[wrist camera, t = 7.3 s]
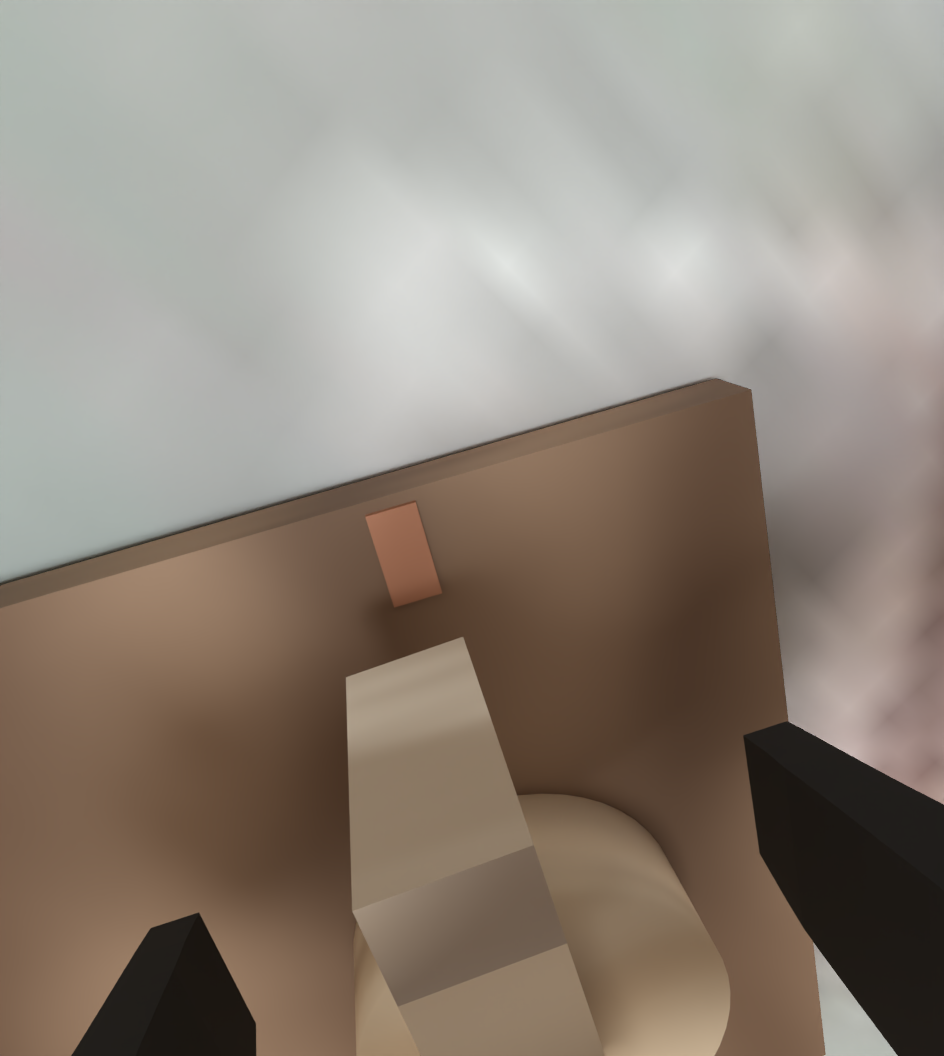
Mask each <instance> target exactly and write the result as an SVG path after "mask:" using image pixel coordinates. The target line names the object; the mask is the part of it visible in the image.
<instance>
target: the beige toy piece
mask: <svg viewBox="0 0 944 1056" xmlns="http://www.w3.org/2000/svg"><path fill="white" fill-rule="evenodd" d="M346 701H347V739H348V776H349V813H350V851H351V888H352V912H353V914H354V916H355V918H356V920H357V922H356V928H355V934H354V984H355V1021H356V1056H715V1054H716V1052H717V1050H718V1048H719V1046H720V1044H721V1041H722V1038H723V1035H724V1033H725V1030H726V1027H727V1022H728V1017H729V1012H730V993H731V992H730V985H729V978H728V974H727V971H726V968H725V965H724V962H723V959H722V957H721V955H720V953H719V952H718V950H717V948H716V946H715V944H714V943H713V941H712V939H711V937H710V935H709V934H708V932H707V930H706V928H705V926H704V925H703V923H702V921H701V919H700V917H699V915H698V914H697V912H696V910H695V908H694V906H693V905H692V903H691V901H690V899H689V897H688V896H687V894H686V892H685V890H684V888H683V887H682V885H681V883H680V881H679V879H678V877H677V876H676V874H675V872H674V870H673V868H672V867H671V865H670V863H669V861H668V859H667V858H666V856H665V854H664V852H663V850H662V849H661V847H660V845H659V844H658V843H657V841H656V840H655V839H654V838H653V836H652V835H651V834H650V833H649V832H648V831H647V830H646V829H645V828H644V827H643V826H642V825H640V824H639V823H638V822H637V821H636V820H634V819H633V818H631V817H630V816H628V815H626V814H625V813H623V812H622V811H620V810H618V809H615V808H613V807H611V806H608V805H606V804H604V803H601V802H598V801H594V800H591V799H587V798H583V797H577V796H570V795H564V794H530V795H518V796H517V794H516V791H515V788H514V785H513V782H512V779H511V776H510V773H509V770H508V767H507V764H506V762H505V759H504V756H503V753H502V750H501V747H500V744H499V741H498V738H497V735H496V732H495V729H494V726H493V723H492V720H491V717H490V714H489V711H488V708H487V706H486V703H485V700H484V697H483V694H482V691H481V688H480V685H479V682H478V679H477V676H476V673H475V670H474V667H473V664H472V661H471V658H470V655H469V652H468V650H467V647H466V644H465V641H464V638H463V637H461V638H458V639H455V640H452V641H449V642H446V643H443V644H440V645H438V646H435V647H432V648H429V649H426V650H423V651H420V652H417V653H415V654H412V655H409V656H406V657H403V658H400V659H397V660H394V661H392V662H389V663H386V664H383V665H380V666H377V667H374V668H371V669H369V670H366V671H363V672H360V673H357V674H354V675H351V676H348V677H346Z"/></svg>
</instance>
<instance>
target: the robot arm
mask: <svg viewBox="0 0 944 1056" xmlns="http://www.w3.org/2000/svg"><path fill="white" fill-rule="evenodd" d="M743 738H744V745H745V752H746V759H747V767H748V774H749V781H750V788H751V795H752V802H753V810H754V817H755V824H756V831H757V838H758V845H759V853H760V855H761V857H762V859H763V860H764V862H765V864H766V866H767V867H768V869H769V871H770V872H771V874H772V876H773V878H774V879H775V881H776V883H777V885H778V886H779V888H780V890H781V892H782V893H783V895H784V897H785V898H786V900H787V902H788V903H789V905H790V907H791V908H792V910H793V912H794V913H795V915H796V917H797V918H798V920H799V922H800V923H801V925H802V927H803V928H804V930H805V931H806V932H807V934H808V935H809V936H810V938H811V939H812V941H813V942H814V943H815V945H816V946H817V948H818V949H819V950H820V952H821V953H822V954H823V956H824V957H825V958H826V960H827V961H828V962H829V964H830V965H831V967H832V968H833V969H834V971H835V972H836V973H837V975H838V976H839V977H840V979H841V980H842V981H843V983H844V984H845V985H846V987H847V988H848V990H849V991H850V992H851V994H852V995H853V996H854V998H855V999H856V1000H857V1002H858V1003H859V1004H860V1006H861V1007H862V1008H863V1010H864V1011H865V1012H866V1014H867V1015H868V1016H869V1018H870V1019H871V1020H872V1022H873V1023H874V1024H875V1026H876V1027H877V1028H878V1030H879V1031H880V1032H881V1034H882V1035H883V1036H884V1038H885V1039H886V1040H887V1042H888V1043H889V1044H890V1046H891V1047H892V1048H893V1050H894V1051H895V1053H896V1054H897V1055H898V1056H944V805H943V804H941V803H939V802H938V801H936V800H934V799H932V798H930V797H928V796H926V795H924V794H922V793H920V792H918V791H916V790H914V789H912V788H910V787H908V786H906V785H904V784H903V783H901V782H899V781H897V780H895V779H893V778H891V777H889V776H887V775H885V774H884V773H882V772H880V771H878V770H876V769H874V768H872V767H871V766H869V765H867V764H865V763H863V762H861V761H859V760H858V759H856V758H854V757H852V756H850V755H848V754H847V753H845V752H843V751H841V750H839V749H837V748H836V747H834V746H832V745H830V744H828V743H826V742H825V741H823V740H821V739H819V738H817V737H816V736H814V735H812V734H810V733H808V732H806V731H804V730H803V729H801V728H799V727H797V726H795V725H793V724H791V723H789V722H788V721H786V722H782V723H779V724H776V725H773V726H770V727H767V728H764V729H761V730H758V731H755V732H752V733H749V734H746V735H743ZM71 1056H256V1022H255V1020H254V1019H253V1017H252V1015H251V1013H250V1011H249V1009H248V1007H247V1005H246V1003H245V1001H244V999H243V997H242V995H241V993H240V991H239V989H238V987H237V985H236V983H235V982H234V980H233V978H232V976H231V974H230V972H229V970H228V968H227V966H226V964H225V962H224V960H223V958H222V956H221V954H220V952H219V950H218V948H217V947H216V945H215V943H214V941H213V939H212V937H211V935H210V933H209V931H208V929H207V927H206V925H205V923H204V921H203V919H202V917H201V915H200V913H199V912H198V913H195V914H192V915H189V916H186V917H183V918H180V919H177V920H174V921H171V922H168V923H165V924H162V925H158V926H155V927H152V928H150V930H149V931H148V933H147V934H146V936H145V937H144V939H143V940H142V942H141V944H140V945H139V947H138V948H137V950H136V951H135V953H134V955H133V956H132V958H131V960H130V961H129V963H128V964H127V966H126V968H125V969H124V971H123V973H122V974H121V976H120V977H119V979H118V981H117V982H116V984H115V986H114V987H113V989H112V991H111V992H110V994H109V995H108V997H107V999H106V1000H105V1002H104V1004H103V1005H102V1007H101V1008H100V1010H99V1012H98V1013H97V1015H96V1017H95V1018H94V1020H93V1021H92V1023H91V1025H90V1026H89V1028H88V1030H87V1031H86V1033H85V1034H84V1036H83V1038H82V1039H81V1041H80V1043H79V1044H78V1046H77V1047H76V1049H75V1050H74V1052H73V1054H72V1055H71Z"/></svg>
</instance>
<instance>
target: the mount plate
mask: <svg viewBox="0 0 944 1056" xmlns="http://www.w3.org/2000/svg"><path fill="white" fill-rule="evenodd" d="M461 637H463V638H464V641H465V644H466V647H467V650H468V652H469V655H470V658H471V661H472V664H473V667H474V670H475V673H476V676H477V679H478V682H479V685H480V688H481V691H482V694H483V697H484V700H485V703H486V706H487V708H488V711H489V714H490V717H491V720H492V723H493V726H494V729H495V732H496V735H497V738H498V741H499V744H500V747H501V750H502V753H503V756H504V759H505V762H506V764H507V767H508V770H509V773H510V776H511V779H512V782H513V785H514V788H515V791H516V794H517V796H518V795H530V794H564V795H570V796H577V797H583V798H587V799H591V800H594V801H598V802H601V803H604V804H606V805H608V806H611V807H613V808H615V809H618V810H620V811H622V812H623V813H625V814H626V815H628V816H630V817H631V818H633V819H634V820H636V821H637V822H638V823H639V824H640V825H642V826H643V827H644V828H645V829H646V830H647V831H648V832H649V833H650V834H651V835H652V836H653V838H654V839H655V840H656V841H657V843H658V844H659V845H660V847H661V849H662V850H663V852H664V854H665V856H666V858H667V859H668V861H669V863H670V865H671V867H672V868H673V870H674V872H675V874H676V876H677V877H678V879H679V881H680V883H681V885H682V887H683V888H684V890H685V892H686V894H687V896H688V897H689V899H690V901H691V903H692V905H693V906H694V908H695V910H696V912H697V914H698V915H699V917H700V919H701V921H702V923H703V925H704V926H705V928H706V930H707V932H708V934H709V935H710V937H711V939H712V941H713V943H714V944H715V946H716V948H717V950H718V952H719V953H720V955H721V957H722V959H723V962H724V965H725V968H726V971H727V974H728V978H729V985H730V992H731V993H730V1012H729V1017H728V1022H727V1027H726V1030H725V1033H724V1035H723V1038H722V1041H721V1044H720V1046H719V1048H718V1050H717V1052H716V1054H715V1056H824V1055H825V1046H824V1037H823V1028H822V1019H821V1010H820V1001H819V992H818V983H817V974H816V965H815V956H814V947H813V941H812V939H811V938H810V936H809V935H808V934H807V932H806V931H805V930H804V928H803V927H802V925H801V923H800V922H799V920H798V918H797V917H796V915H795V913H794V912H793V910H792V908H791V907H790V905H789V903H788V902H787V900H786V898H785V897H784V895H783V893H782V892H781V890H780V888H779V886H778V885H777V883H776V881H775V879H774V878H773V876H772V874H771V872H770V871H769V869H768V867H767V866H766V864H765V862H764V860H763V859H762V857H761V855H760V853H759V845H758V838H757V831H756V824H755V817H754V810H753V802H752V795H751V788H750V781H749V774H748V767H747V759H746V752H745V745H744V738H743V735H746V734H749V733H752V732H755V731H758V730H761V729H764V728H767V727H770V726H773V725H776V724H779V723H782V722H786V721H788V715H787V706H786V697H785V688H784V679H783V670H782V661H781V652H780V643H779V634H778V625H777V616H776V607H775V599H774V590H773V581H772V572H771V563H770V554H769V545H768V536H767V527H766V518H765V509H764V500H763V491H762V482H761V473H760V464H759V455H758V447H757V438H756V429H755V420H754V411H753V402H752V393H751V389H748V388H744V387H741V386H738V385H735V384H732V383H729V382H726V381H723V380H719V379H712V380H709V381H706V382H702V383H699V384H695V385H692V386H688V387H685V388H681V389H678V390H674V391H671V392H667V393H664V394H661V395H657V396H654V397H650V398H647V399H643V400H640V401H636V402H633V403H629V404H626V405H622V406H619V407H616V408H612V409H609V410H605V411H602V412H598V413H595V414H591V415H588V416H584V417H581V418H577V419H574V420H571V421H567V422H564V423H560V424H557V425H553V426H550V427H546V428H543V429H539V430H536V431H532V432H529V433H526V434H522V435H519V436H515V437H512V438H508V439H505V440H501V441H498V442H494V443H491V444H487V445H484V446H481V447H477V448H474V449H470V450H467V451H463V452H460V453H456V454H453V455H449V456H446V457H442V458H439V459H436V460H432V461H429V462H425V463H422V464H418V465H415V466H411V467H408V468H404V469H401V470H397V471H394V472H391V473H387V474H384V475H380V476H377V477H373V478H370V479H366V480H363V481H359V482H356V483H352V484H349V485H346V486H342V487H339V488H335V489H332V490H328V491H325V492H321V493H318V494H314V495H311V496H307V497H304V498H301V499H297V500H294V501H290V502H287V503H283V504H280V505H276V506H273V507H269V508H266V509H262V510H259V511H256V512H252V513H249V514H245V515H242V516H238V517H235V518H231V519H228V520H224V521H221V522H217V523H214V524H211V525H207V526H204V527H200V528H197V529H193V530H190V531H186V532H183V533H179V534H176V535H172V536H169V537H166V538H162V539H159V540H155V541H152V542H148V543H145V544H141V545H138V546H134V547H131V548H127V549H124V550H121V551H117V552H114V553H110V554H107V555H103V556H100V557H96V558H93V559H89V560H86V561H82V562H79V563H76V564H72V565H69V566H65V567H62V568H58V569H55V570H51V571H48V572H44V573H41V574H37V575H34V576H31V577H27V578H24V579H20V580H17V581H13V582H10V583H6V584H3V585H0V1056H71V1055H72V1054H73V1052H74V1050H75V1049H76V1047H77V1046H78V1044H79V1043H80V1041H81V1039H82V1038H83V1036H84V1034H85V1033H86V1031H87V1030H88V1028H89V1026H90V1025H91V1023H92V1021H93V1020H94V1018H95V1017H96V1015H97V1013H98V1012H99V1010H100V1008H101V1007H102V1005H103V1004H104V1002H105V1000H106V999H107V997H108V995H109V994H110V992H111V991H112V989H113V987H114V986H115V984H116V982H117V981H118V979H119V977H120V976H121V974H122V973H123V971H124V969H125V968H126V966H127V964H128V963H129V961H130V960H131V958H132V956H133V955H134V953H135V951H136V950H137V948H138V947H139V945H140V944H141V942H142V940H143V939H144V937H145V936H146V934H147V933H148V931H149V930H150V928H152V927H155V926H158V925H162V924H165V923H168V922H171V921H174V920H177V919H180V918H183V917H186V916H189V915H192V914H195V913H198V912H199V913H200V915H201V917H202V919H203V921H204V923H205V925H206V927H207V929H208V931H209V933H210V935H211V937H212V939H213V941H214V943H215V945H216V947H217V948H218V950H219V952H220V954H221V956H222V958H223V960H224V962H225V964H226V966H227V968H228V970H229V972H230V974H231V976H232V978H233V980H234V982H235V983H236V985H237V987H238V989H239V991H240V993H241V995H242V997H243V999H244V1001H245V1003H246V1005H247V1007H248V1009H249V1011H250V1013H251V1015H252V1017H253V1019H254V1020H255V1022H256V1056H356V1021H355V984H354V934H355V928H356V922H357V920H356V918H355V916H354V914H353V912H352V888H351V851H350V813H349V776H348V739H347V701H346V677H348V676H351V675H354V674H357V673H360V672H363V671H366V670H369V669H371V668H374V667H377V666H380V665H383V664H386V663H389V662H392V661H394V660H397V659H400V658H403V657H406V656H409V655H412V654H415V653H417V652H420V651H423V650H426V649H429V648H432V647H435V646H438V645H440V644H443V643H446V642H449V641H452V640H455V639H458V638H461Z"/></svg>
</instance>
